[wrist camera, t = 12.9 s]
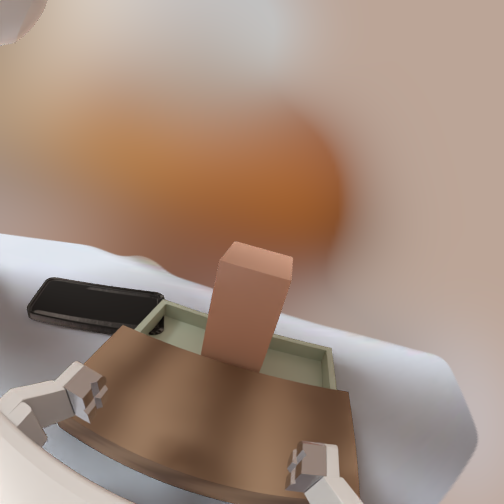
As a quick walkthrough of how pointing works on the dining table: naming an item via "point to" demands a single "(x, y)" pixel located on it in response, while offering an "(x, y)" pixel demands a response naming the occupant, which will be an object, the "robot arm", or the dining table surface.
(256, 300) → the terracotta block
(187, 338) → the box
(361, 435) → the dining table surface
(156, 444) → the platform
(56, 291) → the phone
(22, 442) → the robot arm
